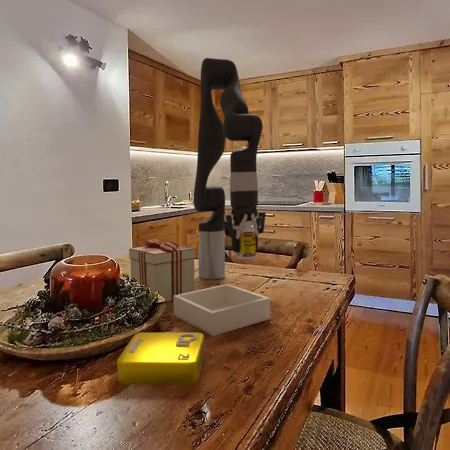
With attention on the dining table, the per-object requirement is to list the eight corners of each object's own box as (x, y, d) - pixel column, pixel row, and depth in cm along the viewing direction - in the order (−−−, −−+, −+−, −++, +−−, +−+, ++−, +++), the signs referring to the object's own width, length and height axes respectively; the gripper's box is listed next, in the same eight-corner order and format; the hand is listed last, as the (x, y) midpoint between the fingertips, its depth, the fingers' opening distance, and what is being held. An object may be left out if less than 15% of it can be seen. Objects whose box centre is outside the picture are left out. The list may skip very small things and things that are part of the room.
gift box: (205, 292, 130) (203, 238, 128) (159, 306, 117) (157, 247, 115) (170, 283, 142) (168, 234, 140) (125, 295, 128) (122, 241, 126)
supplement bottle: (243, 260, 109) (243, 222, 108) (231, 257, 113) (230, 221, 112) (260, 257, 112) (259, 220, 111) (247, 255, 116) (246, 219, 115)
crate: (174, 315, 109) (173, 295, 108) (227, 302, 119) (227, 283, 119) (212, 336, 94) (212, 313, 94) (270, 318, 105) (269, 298, 104)
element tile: (136, 350, 88) (135, 329, 88) (205, 351, 88) (205, 329, 87) (114, 386, 73) (113, 361, 73) (198, 387, 73) (197, 361, 72)
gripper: (254, 188, 118) (255, 246, 120) (214, 190, 109) (216, 252, 111) (272, 188, 112) (273, 249, 114) (232, 190, 103) (233, 255, 105)
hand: (245, 250), depth 112 cm, fingers closed on supplement bottle, 5 cm apart
